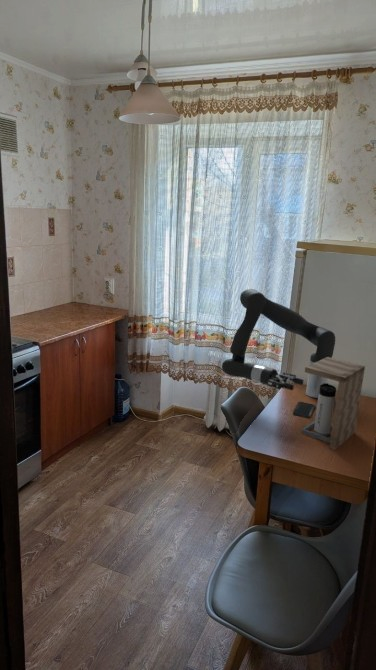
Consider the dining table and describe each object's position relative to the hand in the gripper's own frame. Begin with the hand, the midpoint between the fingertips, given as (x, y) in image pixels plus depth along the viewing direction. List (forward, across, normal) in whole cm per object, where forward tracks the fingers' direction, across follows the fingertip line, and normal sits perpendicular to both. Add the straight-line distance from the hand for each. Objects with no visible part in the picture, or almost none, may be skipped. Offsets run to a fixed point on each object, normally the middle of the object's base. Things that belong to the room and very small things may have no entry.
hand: (298, 385), depth 190 cm
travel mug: (+13, -2, +17) cm, 21 cm away
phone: (-2, +14, +17) cm, 22 cm away
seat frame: (+13, -2, +16) cm, 21 cm away
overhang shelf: (+15, -2, +16) cm, 22 cm away
